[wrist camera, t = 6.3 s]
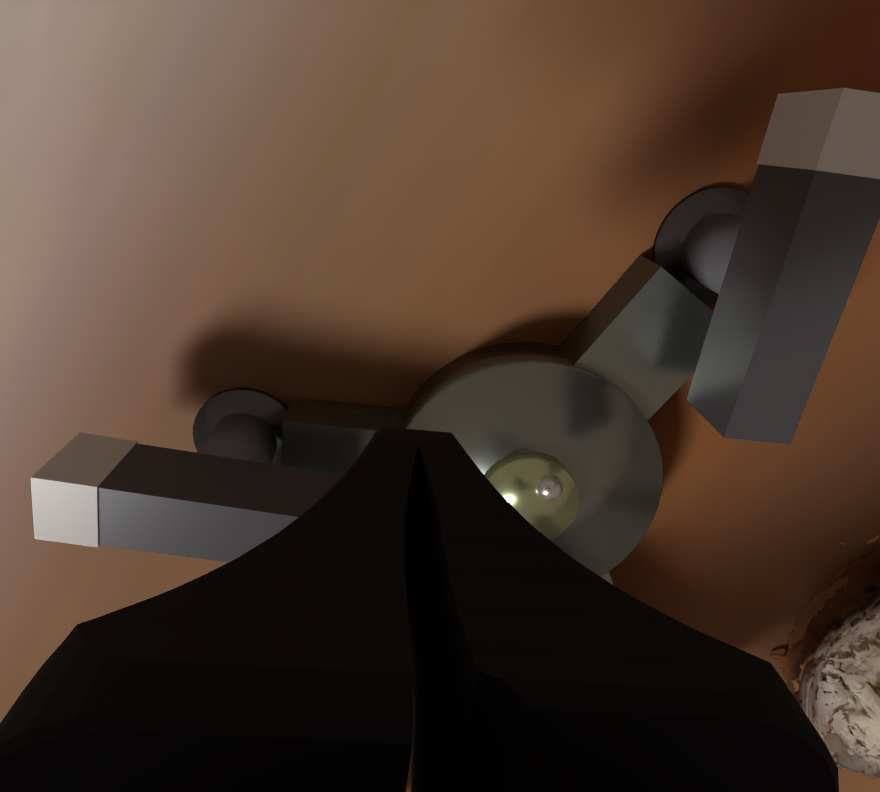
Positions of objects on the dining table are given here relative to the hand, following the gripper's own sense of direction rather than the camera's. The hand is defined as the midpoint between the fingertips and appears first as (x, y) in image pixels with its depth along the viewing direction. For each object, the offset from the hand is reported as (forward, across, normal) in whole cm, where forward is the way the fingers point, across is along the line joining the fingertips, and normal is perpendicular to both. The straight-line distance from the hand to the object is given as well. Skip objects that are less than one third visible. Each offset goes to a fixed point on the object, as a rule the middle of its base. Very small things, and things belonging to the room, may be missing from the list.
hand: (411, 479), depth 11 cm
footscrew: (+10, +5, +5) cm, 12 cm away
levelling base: (+10, -2, +5) cm, 11 cm away
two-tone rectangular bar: (+10, -9, -3) cm, 14 cm away
